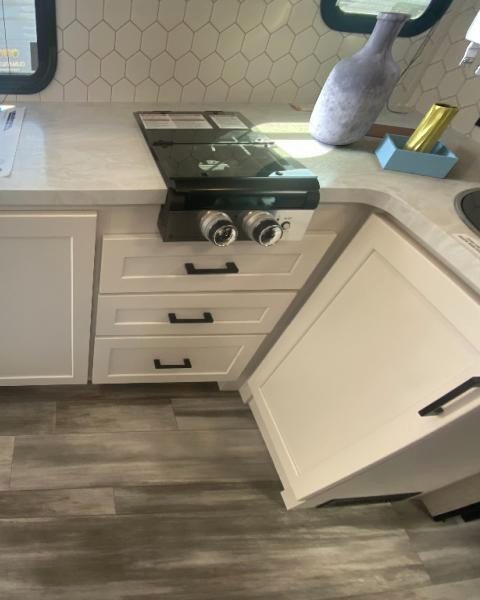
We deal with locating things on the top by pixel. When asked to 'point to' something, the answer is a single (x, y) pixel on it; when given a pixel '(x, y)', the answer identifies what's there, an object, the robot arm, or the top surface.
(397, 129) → the mat
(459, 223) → the top surface
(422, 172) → the crate
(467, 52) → the robot arm
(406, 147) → the vase
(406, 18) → the vase
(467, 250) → the top surface
